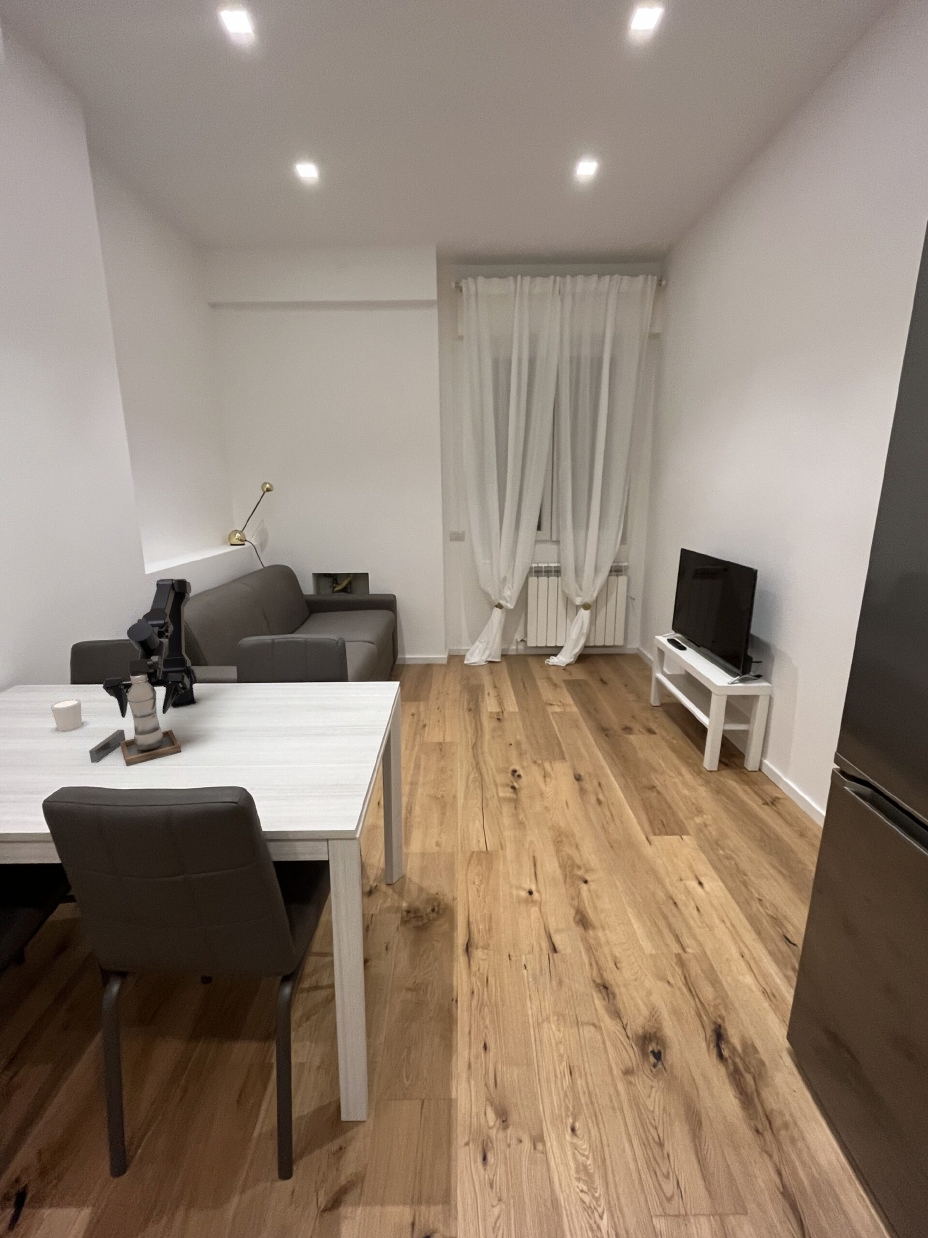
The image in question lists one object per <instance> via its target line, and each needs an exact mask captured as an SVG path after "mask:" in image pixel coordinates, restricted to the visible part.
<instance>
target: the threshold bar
mask: <svg viewBox="0 0 928 1238" xmlns="http://www.w3.org/2000/svg"><path fill="white" fill-rule="evenodd" d="M121 741H126V735H125V730H124V729H117V730H116V731H114V732H113V733H112V734H111V735H109V736H108V737H106V738H104V739H103V740H102V741H101V742H99V743H98V744H97V745H95V746H94V747H92V748H91V749H90V750H88V752H89V758H90V762H91V763H97V762H99V761H101V760H102V759H103V758H104V757H106V756H107V755H108V754H109V753H111V752H112V751H113V750H115V749H116V748H117V747H119V746H121V745H120V742H121Z"/></svg>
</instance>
